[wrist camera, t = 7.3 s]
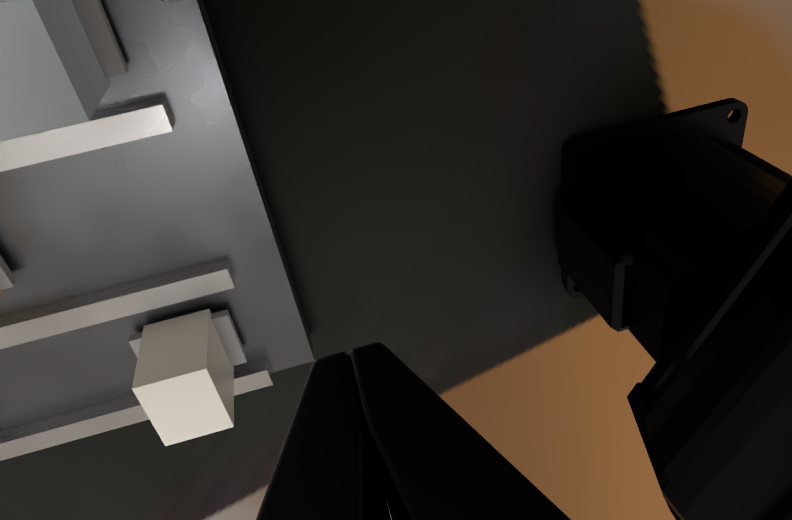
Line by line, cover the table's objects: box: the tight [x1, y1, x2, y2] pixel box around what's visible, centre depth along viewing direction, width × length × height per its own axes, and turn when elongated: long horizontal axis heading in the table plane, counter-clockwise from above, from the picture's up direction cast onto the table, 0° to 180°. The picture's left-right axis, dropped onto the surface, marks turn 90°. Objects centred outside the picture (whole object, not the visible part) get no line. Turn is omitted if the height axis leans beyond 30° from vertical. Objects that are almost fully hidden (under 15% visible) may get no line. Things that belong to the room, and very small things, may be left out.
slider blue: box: [0, 0, 128, 142], centre depth 13 cm, size 3×2×3 cm
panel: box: [0, 0, 315, 461], centre depth 17 cm, size 12×14×2 cm
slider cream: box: [128, 309, 247, 446], centre depth 18 cm, size 3×2×3 cm
